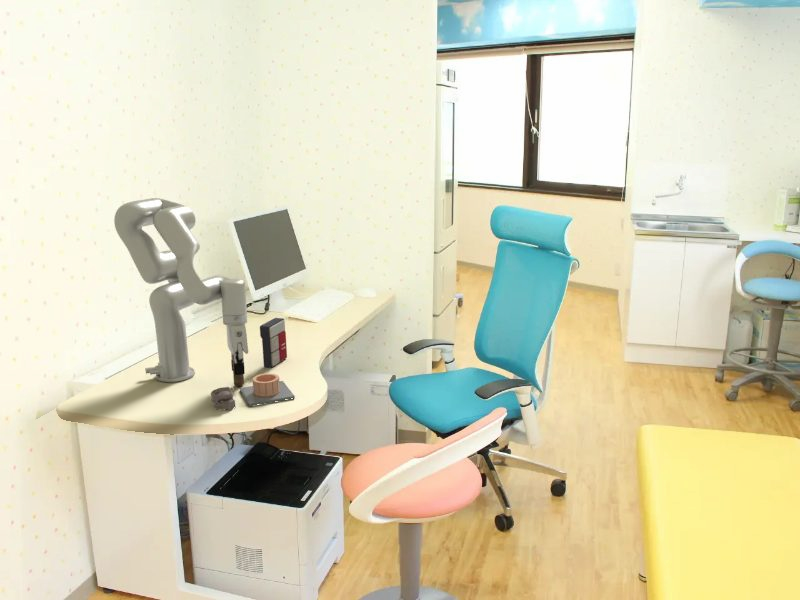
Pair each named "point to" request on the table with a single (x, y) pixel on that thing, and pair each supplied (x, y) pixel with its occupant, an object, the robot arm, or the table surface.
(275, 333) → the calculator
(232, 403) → the dental mold
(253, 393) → the board
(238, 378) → the wooden capsule dowel
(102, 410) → the table surface
